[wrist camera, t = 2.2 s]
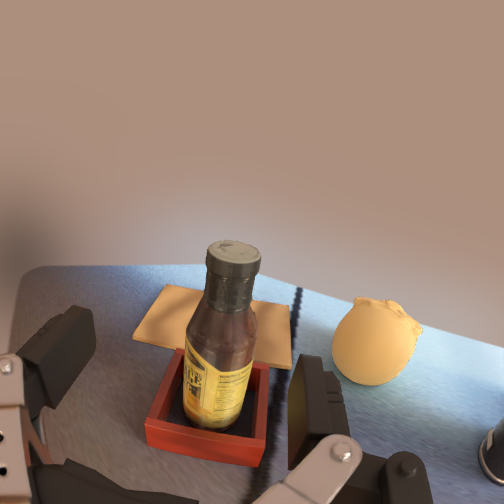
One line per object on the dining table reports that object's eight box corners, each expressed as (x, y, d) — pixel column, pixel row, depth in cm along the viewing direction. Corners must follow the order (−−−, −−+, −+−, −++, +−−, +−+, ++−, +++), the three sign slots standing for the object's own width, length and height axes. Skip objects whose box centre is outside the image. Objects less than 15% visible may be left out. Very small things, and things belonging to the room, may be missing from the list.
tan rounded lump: (407, 366, 43) (435, 308, 39) (378, 408, 34) (414, 343, 30) (349, 335, 50) (369, 277, 46) (309, 367, 41) (331, 301, 37)
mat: (288, 309, 55) (288, 305, 55) (290, 369, 40) (292, 365, 40) (166, 287, 55) (166, 283, 55) (132, 339, 40) (132, 335, 40)
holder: (263, 387, 36) (269, 364, 35) (257, 467, 25) (265, 448, 24) (176, 371, 37) (176, 347, 35) (147, 445, 25) (143, 423, 24)
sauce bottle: (181, 394, 33) (190, 229, 26) (234, 394, 35) (263, 234, 27) (184, 439, 27) (191, 262, 20) (244, 437, 29) (284, 267, 21)
